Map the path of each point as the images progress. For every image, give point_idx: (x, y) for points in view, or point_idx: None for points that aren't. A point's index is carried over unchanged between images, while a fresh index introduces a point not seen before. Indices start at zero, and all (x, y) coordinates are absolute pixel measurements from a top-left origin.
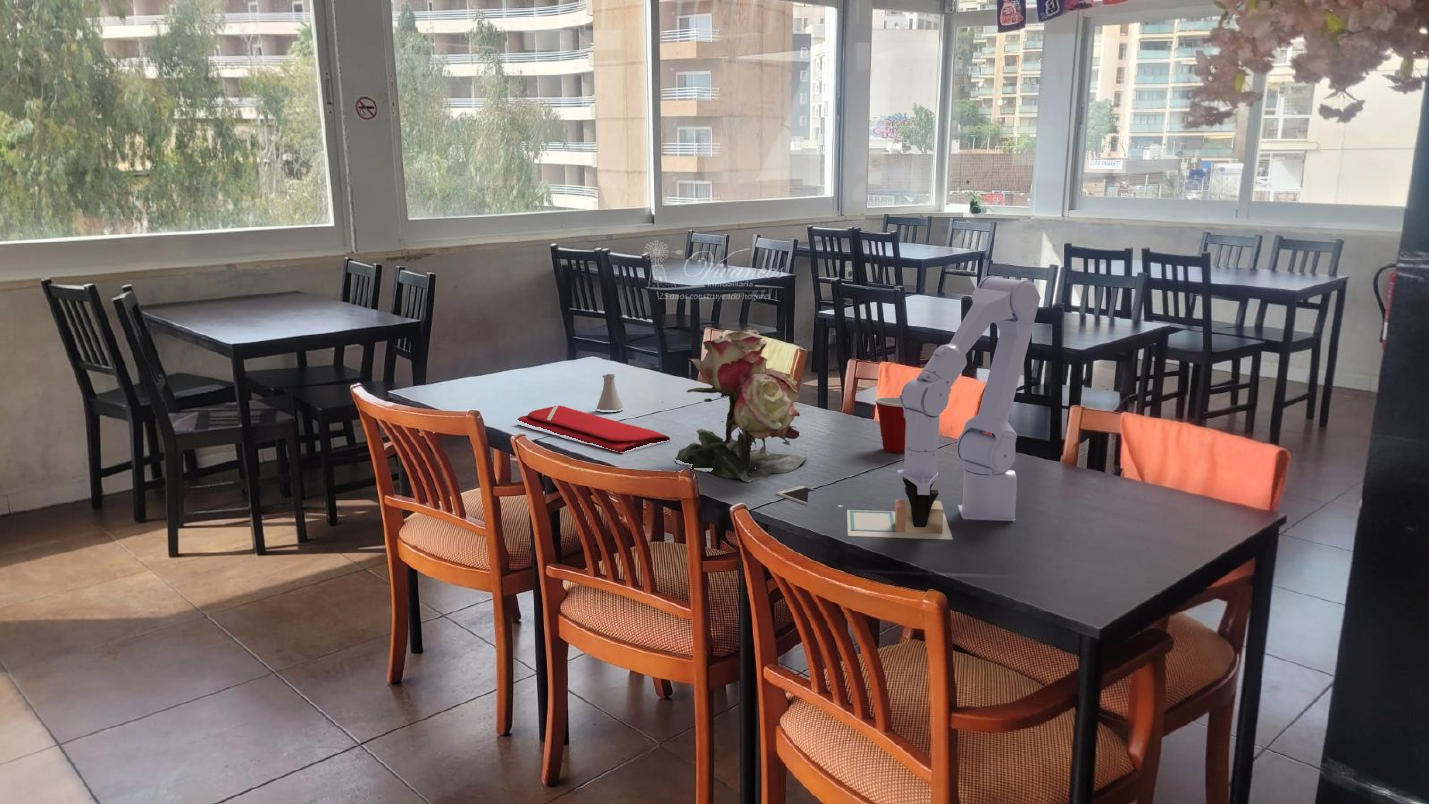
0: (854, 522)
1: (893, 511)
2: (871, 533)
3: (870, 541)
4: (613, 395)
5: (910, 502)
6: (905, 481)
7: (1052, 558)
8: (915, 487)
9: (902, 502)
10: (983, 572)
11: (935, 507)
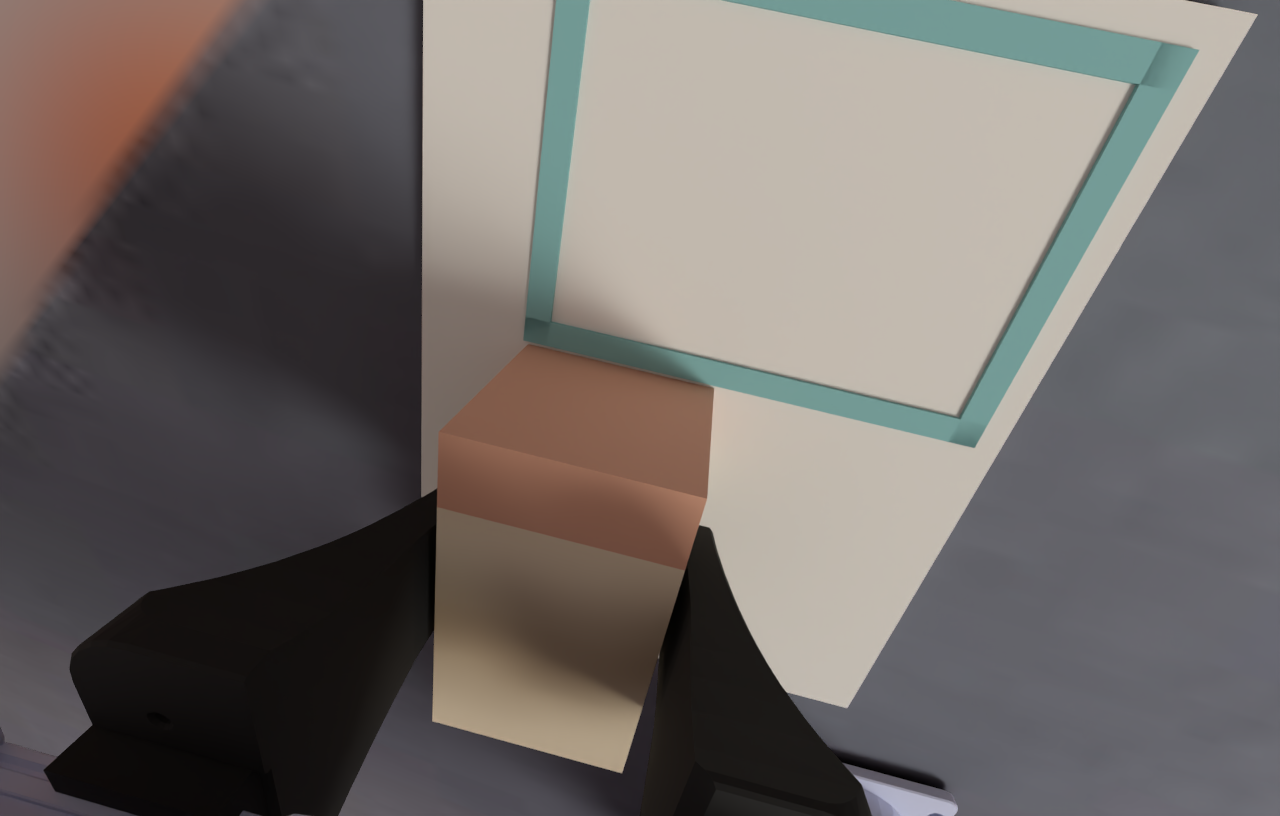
0: (801, 22)
1: (992, 461)
2: (491, 134)
3: (391, 97)
4: None
5: (267, 566)
6: (685, 776)
7: None
8: (263, 770)
9: (608, 529)
10: (90, 558)
11: (471, 696)
